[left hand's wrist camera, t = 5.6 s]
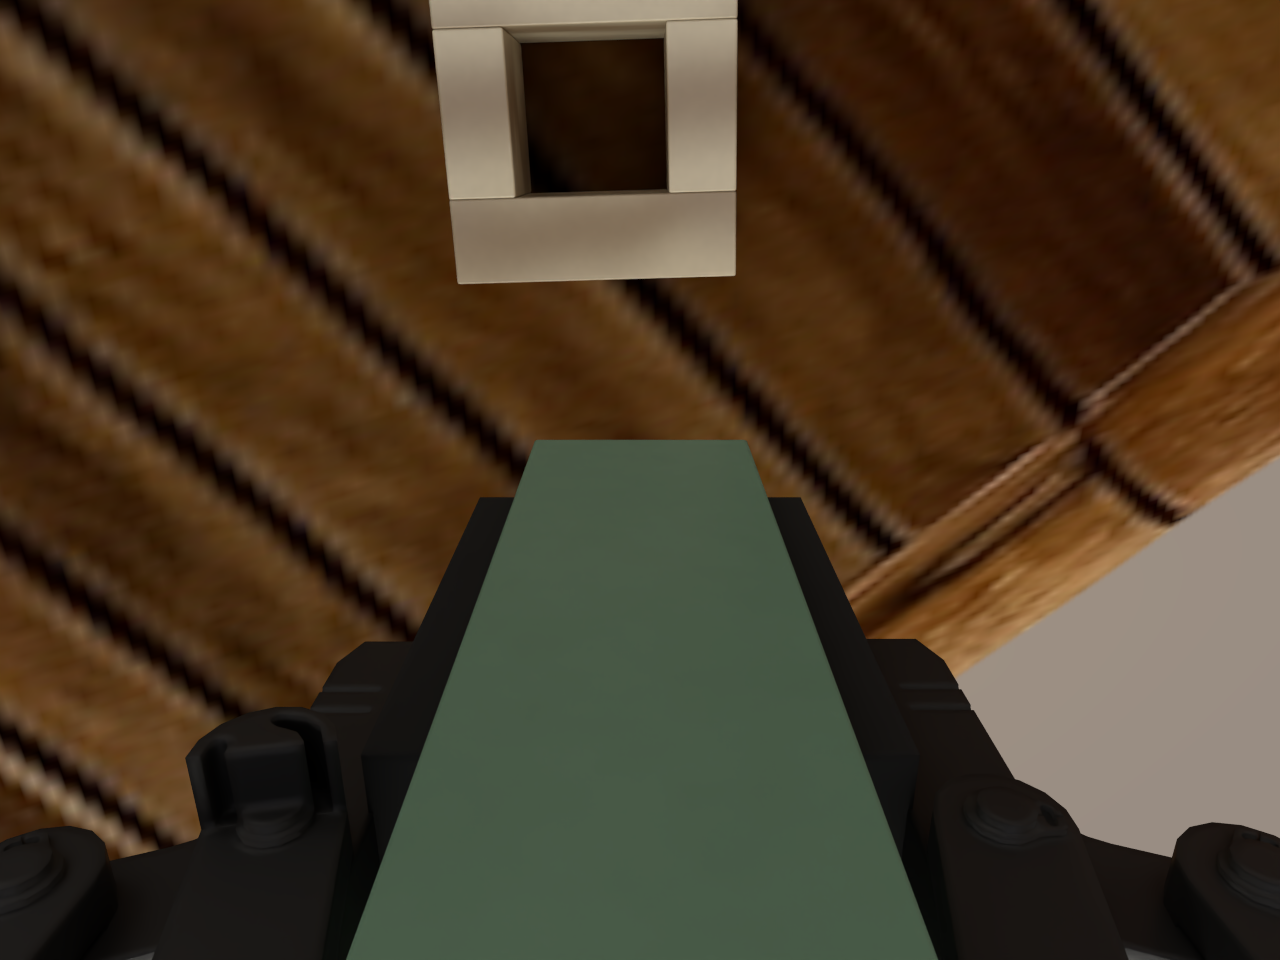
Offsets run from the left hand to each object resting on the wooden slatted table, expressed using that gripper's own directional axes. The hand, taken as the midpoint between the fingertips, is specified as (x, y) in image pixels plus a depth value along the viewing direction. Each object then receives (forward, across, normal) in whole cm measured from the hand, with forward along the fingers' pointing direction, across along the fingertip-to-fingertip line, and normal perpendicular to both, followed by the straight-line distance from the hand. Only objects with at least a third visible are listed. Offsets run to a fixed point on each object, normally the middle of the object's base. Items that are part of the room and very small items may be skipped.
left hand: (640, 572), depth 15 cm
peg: (+2, 0, 0) cm, 2 cm away
